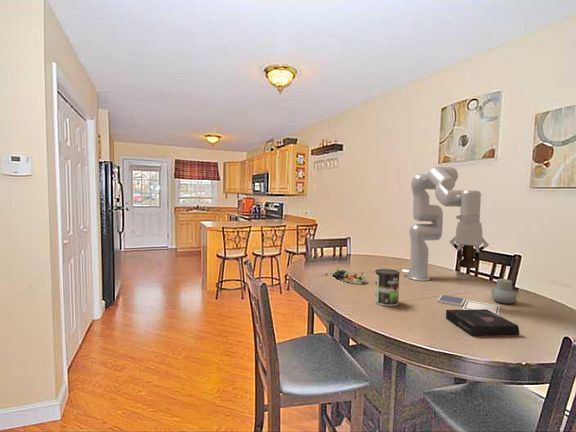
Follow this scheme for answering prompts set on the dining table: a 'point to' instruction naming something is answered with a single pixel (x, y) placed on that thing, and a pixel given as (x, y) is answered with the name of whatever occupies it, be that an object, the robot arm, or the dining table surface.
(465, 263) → the brown wooden tall piece
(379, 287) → the coffee can
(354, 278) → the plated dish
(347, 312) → the dining table surface
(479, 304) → the paper sheet
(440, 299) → the pad
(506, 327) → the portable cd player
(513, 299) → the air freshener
